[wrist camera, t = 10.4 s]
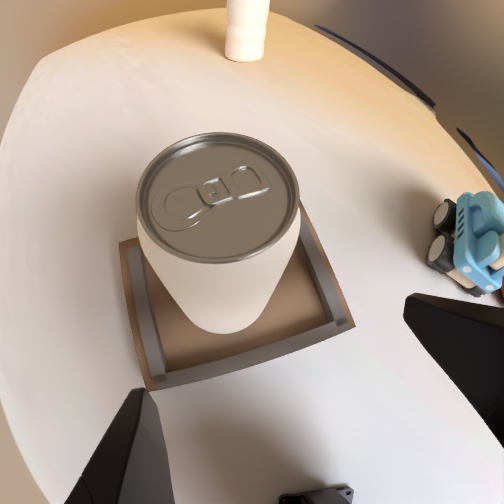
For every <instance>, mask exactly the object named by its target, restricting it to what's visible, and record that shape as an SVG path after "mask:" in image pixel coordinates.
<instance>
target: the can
mask: <svg viewBox="0 0 504 504" xmlns="http://www.w3.org/2000/svg"><path fill="white" fill-rule="evenodd" d="M299 199H300V194H299V186H298V182H297V179H296V176H295V174H294V172H293V170H292V168H291V167H290V165H289V164H288V162H287V161H286V160H285V159H284V158H283V157H282V156H281V155H280V154H279V153H278V152H277V151H276V150H274V149H273V148H272V147H270V146H268V145H267V144H265V143H263V142H261V141H259V140H257V139H254V138H252V137H248V136H245V135H241V134H236V133H227V132H213V133H204V134H199V135H195V136H191V137H188V138H185V139H183V140H180V141H178V142H176V143H174V144H172V145H171V146H169V147H167V148H166V149H164V150H163V151H162V152H161V153H159V154H158V155H157V156H156V157H155V158H154V159H153V160H152V161H151V162H150V164H149V165H148V166H147V168H146V169H145V171H144V172H143V174H142V176H141V178H140V181H139V184H138V187H137V191H136V211H137V232H138V237H139V241H140V244H141V247H142V249H143V252H144V254H145V256H146V258H147V259H148V261H149V263H150V265H151V266H152V268H153V269H154V271H155V272H156V274H157V276H158V277H159V278H160V280H161V281H162V283H163V284H164V286H165V287H166V289H167V290H168V292H169V293H170V294H171V296H172V297H173V299H174V300H175V301H176V303H177V304H178V305H179V307H180V308H181V309H182V311H183V312H184V313H185V315H186V316H187V317H188V318H189V319H190V320H191V321H192V322H193V323H194V324H195V325H196V326H198V327H199V328H201V329H203V330H206V331H208V332H212V333H217V334H229V333H234V332H238V331H240V330H243V329H245V328H246V327H248V326H249V325H251V324H252V323H253V322H254V321H255V320H256V319H257V318H258V317H259V316H260V314H261V313H262V311H263V310H264V308H265V306H266V304H267V303H268V301H269V299H270V297H271V295H272V293H273V291H274V289H275V287H276V285H277V284H278V282H279V280H280V278H281V276H282V274H283V272H284V270H285V268H286V266H287V264H288V262H289V259H290V257H291V255H292V253H293V251H294V248H295V246H296V243H297V240H298V236H299V231H300V222H301V219H300V209H299Z"/></svg>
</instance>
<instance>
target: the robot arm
mask: <svg viewBox="0 0 504 504" xmlns="http://www.w3.org/2000/svg"><path fill="white" fill-rule="evenodd" d="M403 318H404V321H405V322H406V324H407V325H408V326H409V328H410V329H411V330H412V332H413V333H414V334H415V336H416V337H417V338H418V340H419V341H420V343H421V344H422V345H423V347H424V348H425V349H426V351H427V352H428V353H429V354H430V355H431V356H432V358H433V359H434V360H435V361H436V362H437V363H438V365H439V366H440V367H441V368H442V369H443V370H444V372H445V373H446V374H447V375H448V376H449V378H450V379H451V380H452V381H453V382H454V384H455V385H456V386H457V387H458V388H459V390H460V391H461V392H462V393H463V395H464V396H465V397H466V398H467V400H468V401H469V402H470V403H471V405H472V406H473V407H474V408H475V410H476V411H477V412H478V414H479V415H480V416H481V418H482V419H483V420H484V422H485V423H486V425H487V426H488V427H489V429H490V430H491V431H492V433H493V434H494V435H495V437H496V438H497V440H498V441H499V442H500V444H501V445H502V447H503V448H504V308H500V307H499V308H498V307H494V306H488V305H482V304H477V303H471V302H465V301H459V300H454V299H448V298H443V297H437V296H432V295H426V294H420V293H413V294H411V295H409V296H408V297H407V298H406V300H405V307H404V313H403ZM347 491H349V493H347V494H346V492H347ZM353 493H354V490H353V489H352V488H350V487H346V488H340V489H334V488H331V489H324V490H316V491H306V492H305V493H300V494H285V495H281V496H280V497H279V498H278V503H277V504H351V503H352V498H353ZM283 499H287V500H286V501H282V500H283ZM64 504H175V502H174V496H173V490H172V484H171V477H170V470H169V462H168V455H167V449H166V445H165V440H164V436H163V432H162V427H161V422H160V417H159V412H158V408H157V405H156V403H155V402H154V400H153V399H152V397H151V396H150V394H149V393H148V391H147V390H146V389H145V388H143V387H142V388H136V389H132V390H131V391H130V393H129V394H128V396H127V398H126V399H125V401H124V403H123V404H122V406H121V407H120V409H119V411H118V412H117V414H116V416H115V417H114V419H113V421H112V422H111V424H110V426H109V427H108V429H107V431H106V433H105V434H104V436H103V438H102V439H101V441H100V443H99V445H98V446H97V448H96V450H95V451H94V453H93V455H92V457H91V458H90V460H89V462H88V464H87V465H86V467H85V469H84V471H83V473H82V476H80V478H79V479H78V481H77V483H76V485H75V487H74V488H73V490H72V492H71V493H70V495H69V497H68V498H67V500H66V501H65V503H64Z"/></svg>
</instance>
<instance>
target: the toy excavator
mask: <svg viewBox="0 0 504 504" xmlns="http://www.w3.org/2000/svg"><path fill="white" fill-rule="evenodd" d="M433 218H434V228H435V229H436V230H438V231H439V232H441V233H442V234H441V235H440V236H437V237H435V239H434V240H433V242H432V244H431V246H430V247H429V248H430V252H429V255H428V254H427V257H426V260H427V264H428V265H429V266H431V267H432V268H434V269H435V270H437V271H438V272H440V273H441V274H444V273H446V274H447V275H449V276H450V277H452V278H453V279H454V280H456V281H457V282H459V283H460V284H462V285H463V288H464V290H465V291H466V292H468V293H470V294H471V295H473V296H474V297H481V296H480V295H482V294H483V295H485V294H486V293H490V292H493V291H495V290H497V289H499V288H501V286H502V276H504V204H503V203H502V202H501V201H500V200H499V199H498V198H497V197H496V196H495V195H494V194H493V193H491V192H488V191H482V192H479V193H477V194H473V193H470V192H465V193H464V194H462V195H461V196H460V197H459V198H458V199H457V204H456V203H454V202H453V201H451V200H450V199H445V200H444V202H443V204H441V205H439V206H438V208H437V210H436V212H435V215H434V217H433Z"/></svg>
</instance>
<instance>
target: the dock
mask: <svg viewBox="0 0 504 504" xmlns="http://www.w3.org/2000/svg"><path fill="white" fill-rule="evenodd" d="M299 209H300V219H301V222H300V231H299V236H298V240H297V243H296V246H295V248H294V251H293V253H292V255H291V257H290V259H289V262H288V264H287V266H286V268H285V270H284V272H283V274H282V276H281V278H280V280H279V282H278V284H277V285H276V287H275V289H274V291H273V293H272V295H271V297H270V299H269V301H268V303H267V304H266V306H265V308H264V310H263V311H262V313H261V314H260V316H259V317H258V318H257V319H256V320H255V321H254V322H253V323H252V324H251V325H249V326H248V327H246V328H245V329H243V330H240V331H238V332H234V333H229V334H217V333H212V332H208V331H206V330H203V329H201V328H199V327H198V326H196V325H195V324H194V323H193V322H192V321H191V320H190V319H189V318H188V317H187V316H186V315H185V313H184V312H183V311H182V309H181V308H180V307H179V305H178V304H177V303H176V301H175V300H174V299H173V297H172V296H171V294H170V293H169V292H168V290H167V289H166V287H165V286H164V284H163V283H162V281H161V280H160V278H159V277H158V276H157V274H156V272H155V271H154V269H153V268H152V266H151V265H150V263H149V261H148V259H147V258H146V256H145V254H144V252H143V249H142V247H141V244H140V241H139V237H137V238H133V239H130V240H126V241H123V242H119V251H120V260H121V268H122V276H123V283H124V290H125V296H126V302H127V308H128V313H129V319H130V324H131V329H132V333H133V338H134V343H135V347H136V351H137V356H138V360H139V364H140V367H141V371H142V375H143V379H144V382H145V386H146V389H147V391H148V392H150V391H156V390H161V389H166V388H171V387H175V386H180V385H184V384H188V383H193V382H197V381H201V380H205V379H208V378H212V377H216V376H220V375H223V374H227V373H230V372H234V371H237V370H241V369H244V368H247V367H250V366H254V365H257V364H260V363H263V362H266V361H269V360H272V359H275V358H278V357H281V356H284V355H286V354H289V353H292V352H295V351H298V350H300V349H303V348H306V347H308V346H311V345H313V344H316V343H318V342H321V341H323V340H326V339H328V338H331V337H333V336H336V335H338V334H340V333H343V332H345V331H347V330H350V329H352V328H354V327H356V326H355V323H354V320H353V318H352V315H351V313H350V310H349V308H348V305H347V303H346V300H345V298H344V296H343V293H342V291H341V288H340V286H339V284H338V281H337V279H336V277H335V274H334V272H333V270H332V267H331V265H330V263H329V260H328V258H327V256H326V254H325V252H324V249H323V247H322V245H321V243H320V241H319V238H318V236H317V234H316V232H315V230H314V228H313V226H312V223H311V221H310V219H309V217H308V215H307V213H306V211H305V209H304V207H303V205H302V203H301V201H300V199H299Z"/></svg>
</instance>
